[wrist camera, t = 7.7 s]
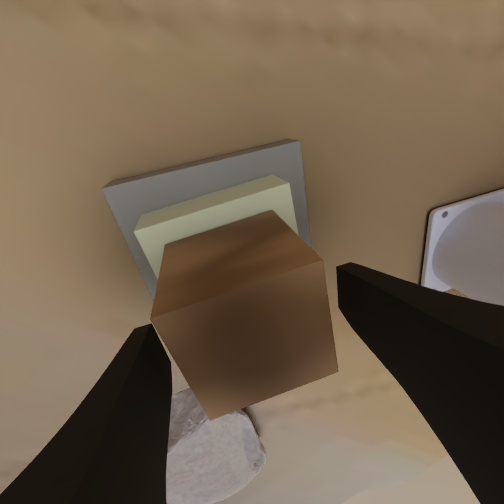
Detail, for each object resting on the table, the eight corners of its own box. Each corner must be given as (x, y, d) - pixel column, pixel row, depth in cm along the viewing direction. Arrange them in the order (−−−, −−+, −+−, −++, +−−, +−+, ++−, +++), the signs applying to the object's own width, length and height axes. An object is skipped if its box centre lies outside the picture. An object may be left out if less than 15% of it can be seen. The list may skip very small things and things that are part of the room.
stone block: (205, 355, 23) (104, 434, 21) (223, 399, 19) (99, 501, 17) (262, 414, 29) (186, 479, 27) (285, 457, 25) (197, 537, 23)
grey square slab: (283, 139, 16) (300, 140, 13) (301, 277, 20) (316, 295, 18) (113, 179, 14) (101, 188, 12) (173, 316, 19) (172, 341, 17)
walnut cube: (272, 209, 12) (322, 259, 7) (291, 295, 14) (338, 371, 10) (164, 244, 11) (150, 319, 7) (202, 326, 14) (209, 420, 9)
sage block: (272, 174, 14) (289, 182, 12) (294, 280, 17) (310, 303, 15) (141, 214, 13) (133, 231, 11) (190, 317, 16) (191, 346, 14)
